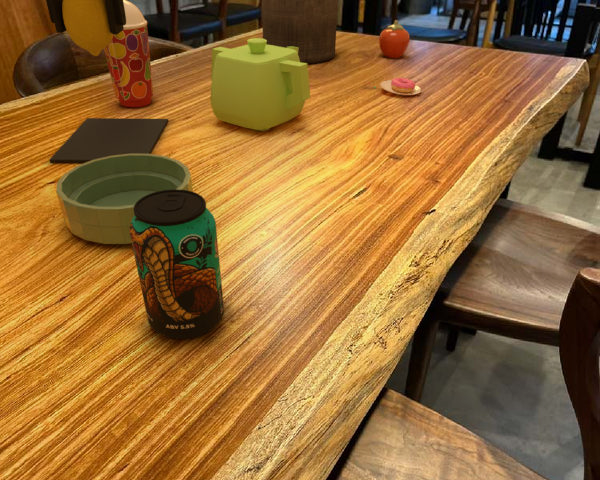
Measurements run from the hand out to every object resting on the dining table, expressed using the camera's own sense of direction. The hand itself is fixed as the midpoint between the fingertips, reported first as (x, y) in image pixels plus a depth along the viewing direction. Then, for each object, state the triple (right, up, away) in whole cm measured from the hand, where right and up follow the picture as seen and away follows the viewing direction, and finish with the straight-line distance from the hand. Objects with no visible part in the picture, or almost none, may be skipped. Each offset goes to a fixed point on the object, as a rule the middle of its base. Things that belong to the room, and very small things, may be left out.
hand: (90, 29), depth 63 cm
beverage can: (+14, -34, -12) cm, 39 cm away
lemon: (0, -2, +2) cm, 3 cm away
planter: (+24, +28, +69) cm, 78 cm away
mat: (-5, -6, +23) cm, 24 cm away
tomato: (+47, +28, +69) cm, 88 cm away
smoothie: (-6, +5, +38) cm, 39 cm away
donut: (+44, +10, +46) cm, 64 cm away
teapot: (+19, +1, +33) cm, 38 cm away
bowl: (+4, -22, +3) cm, 22 cm away
